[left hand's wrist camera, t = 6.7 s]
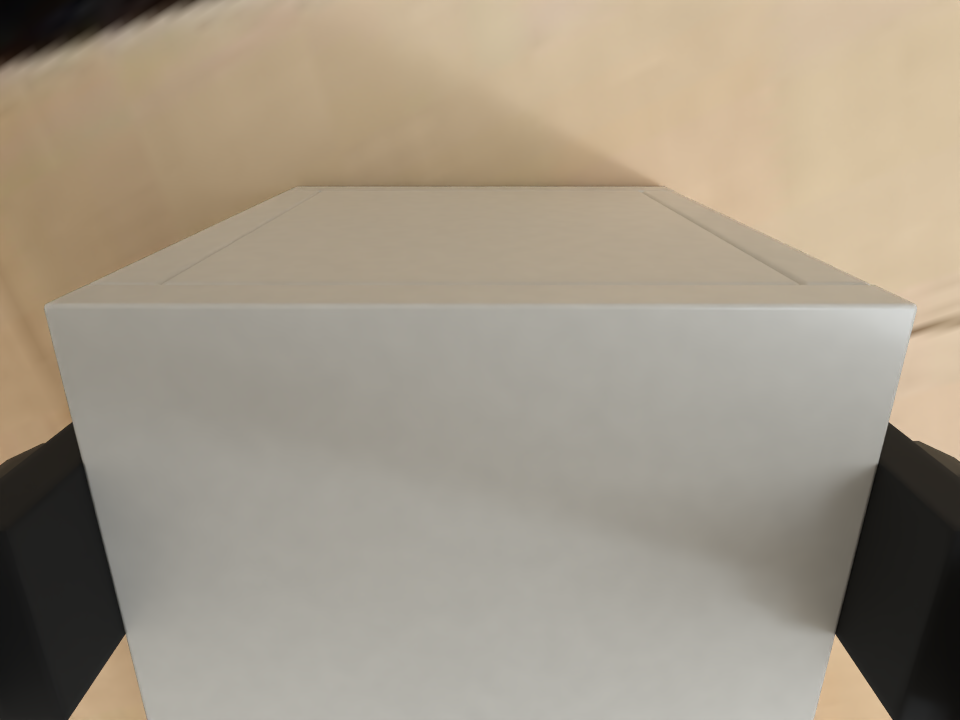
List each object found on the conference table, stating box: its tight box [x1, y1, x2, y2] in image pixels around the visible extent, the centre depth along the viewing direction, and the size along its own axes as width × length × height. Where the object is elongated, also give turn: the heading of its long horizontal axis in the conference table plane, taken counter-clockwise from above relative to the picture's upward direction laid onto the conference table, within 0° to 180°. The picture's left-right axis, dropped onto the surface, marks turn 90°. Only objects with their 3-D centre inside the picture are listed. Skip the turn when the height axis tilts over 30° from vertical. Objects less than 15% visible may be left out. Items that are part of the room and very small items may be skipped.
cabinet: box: [44, 186, 917, 720], centre depth 16 cm, size 19×10×11 cm, turn 0°
